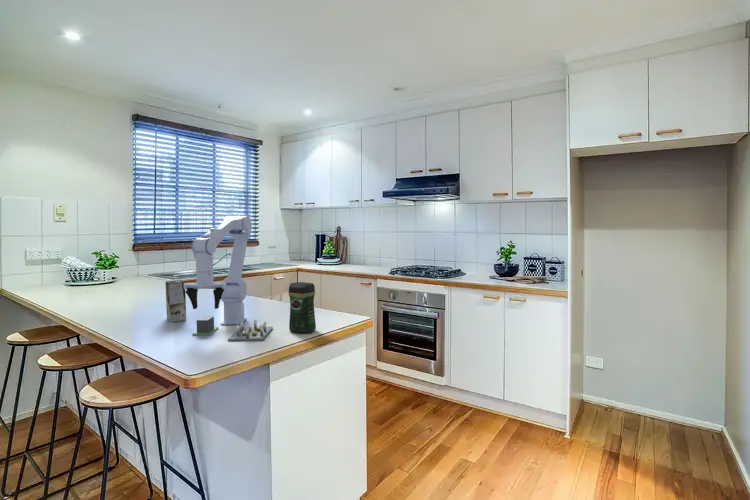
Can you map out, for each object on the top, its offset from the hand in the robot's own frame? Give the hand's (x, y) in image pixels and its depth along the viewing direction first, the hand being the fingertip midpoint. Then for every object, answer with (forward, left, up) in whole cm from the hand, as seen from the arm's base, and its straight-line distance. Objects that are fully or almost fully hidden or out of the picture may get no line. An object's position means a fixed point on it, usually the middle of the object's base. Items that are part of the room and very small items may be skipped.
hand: (206, 308), depth 146 cm
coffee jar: (-4, +34, -10) cm, 36 cm away
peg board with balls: (0, +16, -10) cm, 19 cm away
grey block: (-4, -2, -10) cm, 11 cm away
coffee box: (-25, -22, -10) cm, 35 cm away
